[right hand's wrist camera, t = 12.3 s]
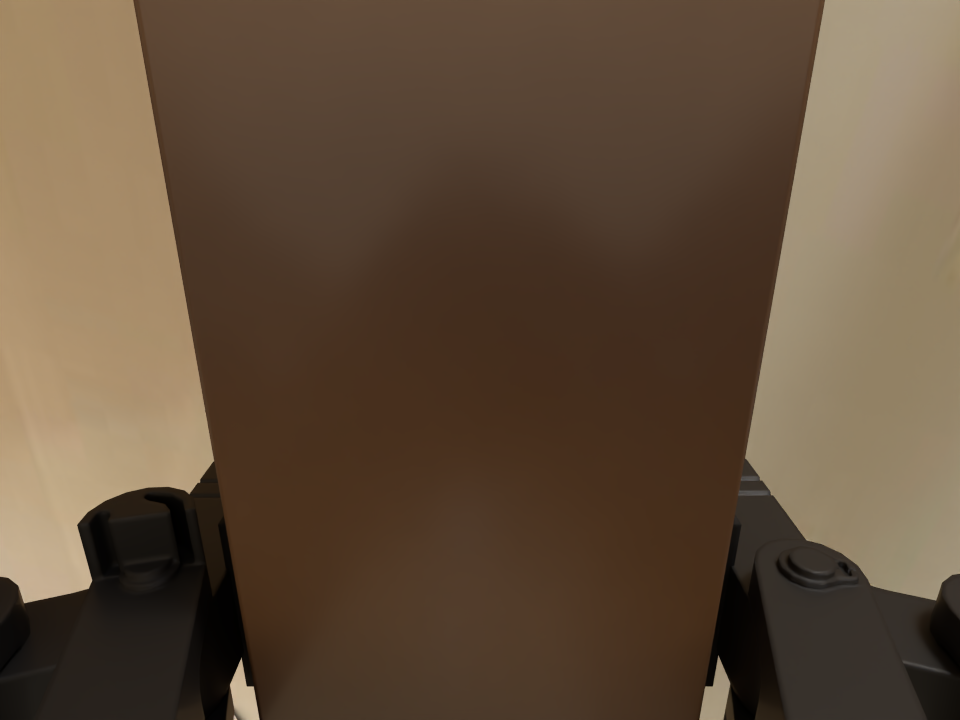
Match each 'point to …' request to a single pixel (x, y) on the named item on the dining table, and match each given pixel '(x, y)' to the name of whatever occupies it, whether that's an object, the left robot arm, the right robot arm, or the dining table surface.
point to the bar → (479, 333)
